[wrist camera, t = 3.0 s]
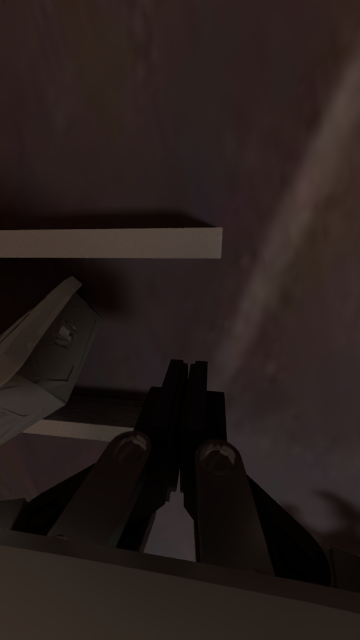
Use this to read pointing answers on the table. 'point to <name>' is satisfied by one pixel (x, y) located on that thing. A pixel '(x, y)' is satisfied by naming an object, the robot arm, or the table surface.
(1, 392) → the electrical switch
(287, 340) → the table surface
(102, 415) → the guide track
